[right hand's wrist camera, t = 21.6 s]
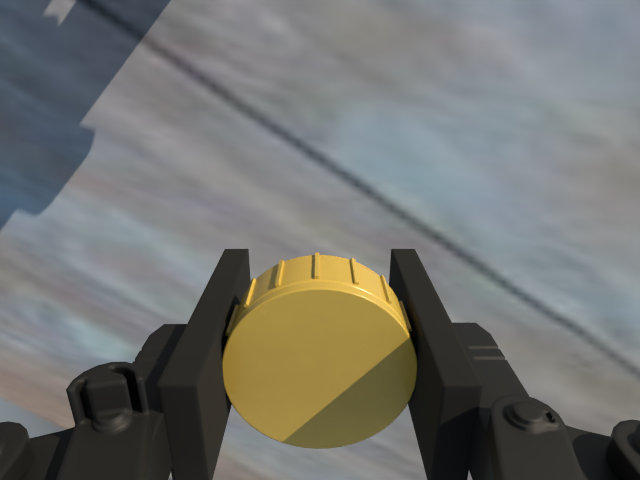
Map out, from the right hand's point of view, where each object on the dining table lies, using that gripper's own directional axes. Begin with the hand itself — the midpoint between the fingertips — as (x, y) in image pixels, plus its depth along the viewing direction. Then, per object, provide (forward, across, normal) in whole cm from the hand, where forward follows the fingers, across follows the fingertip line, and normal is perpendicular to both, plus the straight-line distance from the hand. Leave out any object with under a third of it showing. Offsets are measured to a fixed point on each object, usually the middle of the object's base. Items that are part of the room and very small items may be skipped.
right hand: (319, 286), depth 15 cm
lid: (-4, 0, 0) cm, 4 cm away
